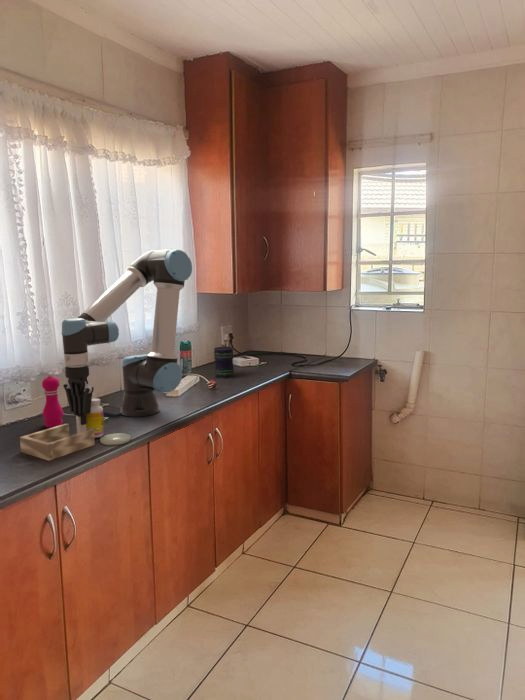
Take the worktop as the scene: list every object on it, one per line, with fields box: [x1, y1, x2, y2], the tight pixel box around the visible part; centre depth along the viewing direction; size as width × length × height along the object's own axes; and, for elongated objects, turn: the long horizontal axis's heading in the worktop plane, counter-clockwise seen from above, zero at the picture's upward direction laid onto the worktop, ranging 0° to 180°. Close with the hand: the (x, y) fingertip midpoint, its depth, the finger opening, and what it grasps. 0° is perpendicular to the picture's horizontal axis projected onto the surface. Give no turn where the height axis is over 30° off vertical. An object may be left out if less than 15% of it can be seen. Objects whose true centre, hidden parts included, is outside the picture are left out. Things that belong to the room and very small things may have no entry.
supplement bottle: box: [86, 397, 104, 439], centre depth 192 cm, size 7×7×13 cm
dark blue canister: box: [213, 346, 234, 380], centre depth 287 cm, size 10×10×15 cm
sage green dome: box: [99, 432, 132, 446], centre depth 188 cm, size 10×10×1 cm
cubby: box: [19, 423, 96, 462], centre depth 181 cm, size 18×14×5 cm
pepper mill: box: [41, 372, 64, 429], centre depth 205 cm, size 7×7×20 cm
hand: (81, 433), depth 188 cm, fingers closed
